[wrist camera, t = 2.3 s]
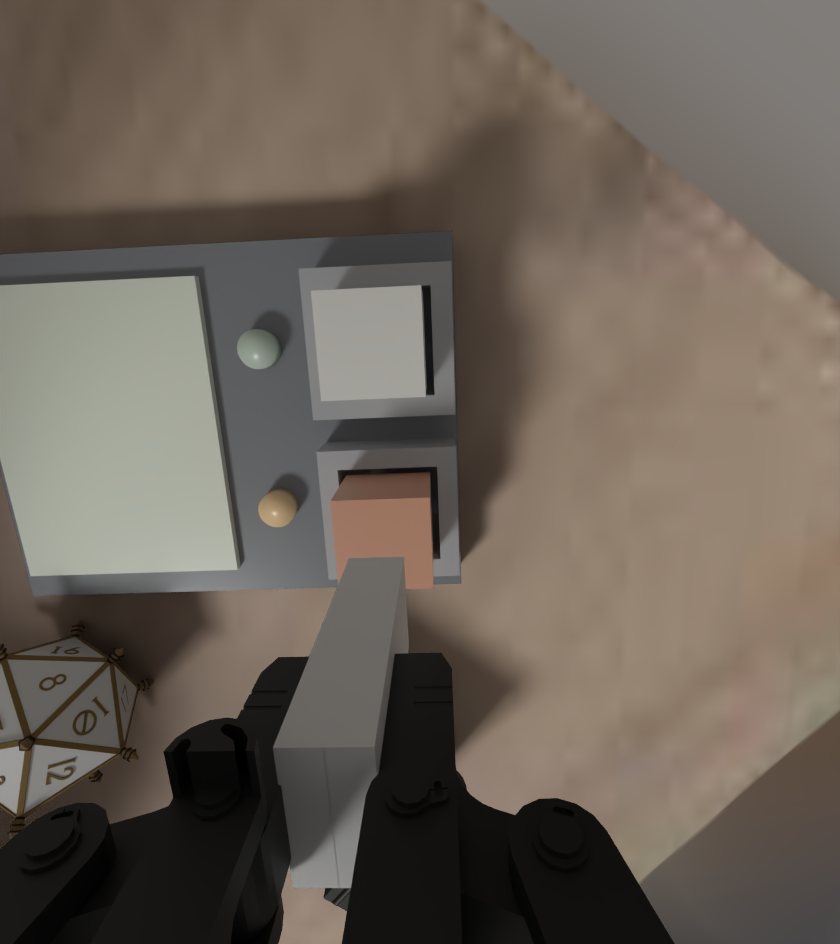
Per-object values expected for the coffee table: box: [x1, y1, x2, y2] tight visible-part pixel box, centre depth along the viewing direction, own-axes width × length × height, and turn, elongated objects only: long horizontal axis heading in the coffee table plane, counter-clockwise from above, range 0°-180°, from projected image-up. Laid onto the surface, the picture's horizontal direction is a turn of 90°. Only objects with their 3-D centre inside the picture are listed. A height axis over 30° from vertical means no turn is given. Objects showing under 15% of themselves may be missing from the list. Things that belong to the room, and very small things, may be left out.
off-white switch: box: [311, 285, 427, 401], centre depth 18 cm, size 4×4×4 cm
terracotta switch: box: [330, 472, 434, 589], centre depth 20 cm, size 4×4×4 cm
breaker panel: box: [0, 231, 461, 596], centre depth 23 cm, size 21×16×4 cm
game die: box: [0, 620, 154, 839], centre depth 24 cm, size 9×8×10 cm
